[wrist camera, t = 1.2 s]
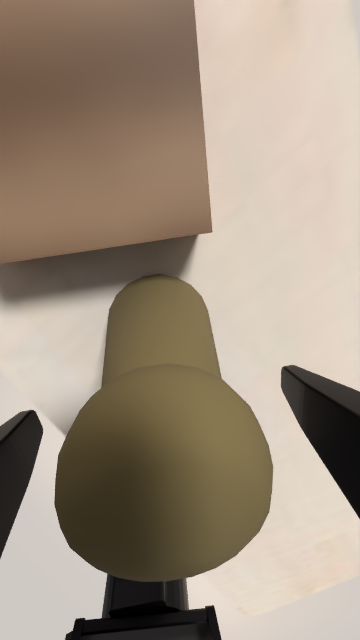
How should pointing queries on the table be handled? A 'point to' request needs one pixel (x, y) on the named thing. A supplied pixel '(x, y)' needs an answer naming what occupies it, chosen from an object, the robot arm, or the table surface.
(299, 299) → the table surface
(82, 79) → the walnut block
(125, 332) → the olive game pawn
